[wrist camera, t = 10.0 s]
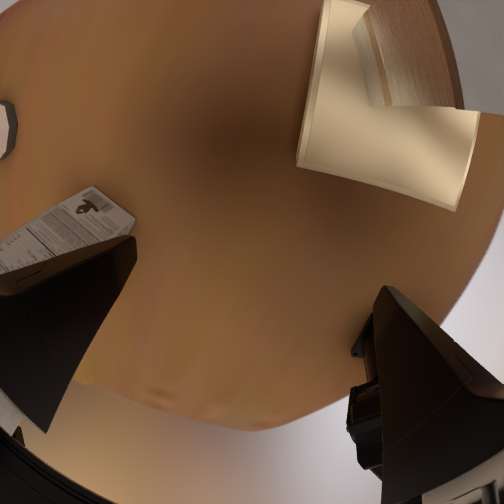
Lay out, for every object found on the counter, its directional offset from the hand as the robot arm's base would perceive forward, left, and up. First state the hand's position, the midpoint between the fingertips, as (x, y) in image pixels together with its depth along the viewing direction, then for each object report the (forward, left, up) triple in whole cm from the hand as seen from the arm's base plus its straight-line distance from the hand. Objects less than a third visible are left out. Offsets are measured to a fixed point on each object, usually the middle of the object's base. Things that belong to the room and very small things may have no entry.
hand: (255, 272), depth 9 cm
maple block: (+8, -7, -13) cm, 17 cm away
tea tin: (+10, -6, -9) cm, 15 cm away
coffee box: (-8, +17, -13) cm, 23 cm away
